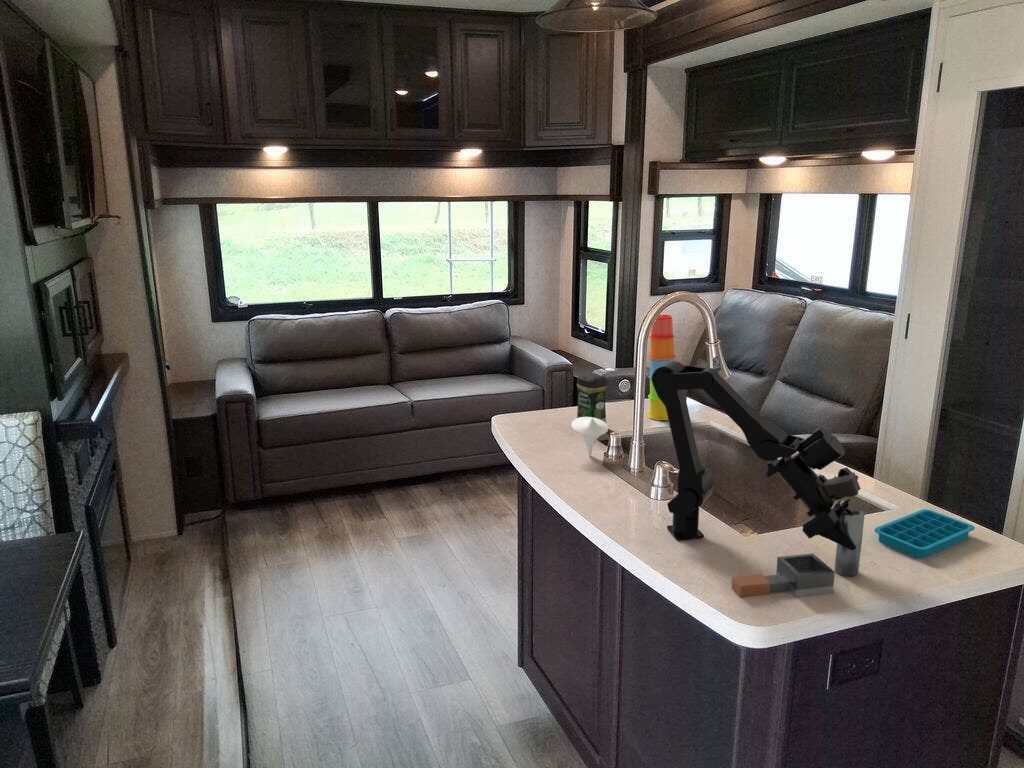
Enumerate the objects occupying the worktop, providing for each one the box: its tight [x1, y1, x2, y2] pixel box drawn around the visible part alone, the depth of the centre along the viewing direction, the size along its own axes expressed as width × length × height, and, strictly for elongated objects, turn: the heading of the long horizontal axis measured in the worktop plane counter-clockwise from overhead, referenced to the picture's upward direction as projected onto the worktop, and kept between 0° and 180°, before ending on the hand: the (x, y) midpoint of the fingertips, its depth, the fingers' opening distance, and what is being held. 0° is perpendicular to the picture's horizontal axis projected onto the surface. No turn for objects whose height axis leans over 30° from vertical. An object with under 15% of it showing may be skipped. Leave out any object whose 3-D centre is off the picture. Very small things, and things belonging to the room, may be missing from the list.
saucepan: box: [731, 552, 836, 598], centre depth 145 cm, size 8×18×4 cm, turn 99°
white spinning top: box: [571, 417, 609, 457], centre depth 217 cm, size 10×11×12 cm
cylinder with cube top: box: [834, 506, 865, 579], centre depth 149 cm, size 4×4×14 cm
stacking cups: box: [647, 314, 676, 421], centre depth 249 cm, size 10×10×35 cm
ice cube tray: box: [873, 508, 976, 559], centre depth 163 cm, size 12×20×3 cm, turn 121°
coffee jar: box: [576, 371, 608, 424], centre depth 240 cm, size 10×8×19 cm
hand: (856, 544), depth 148 cm, fingers open, 5 cm apart
